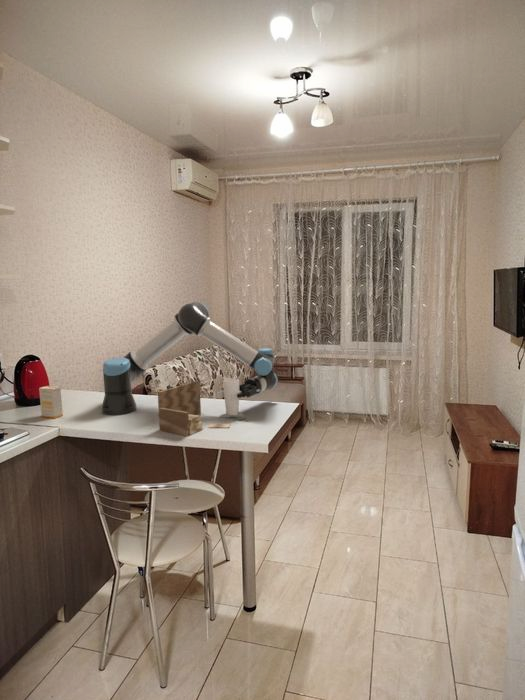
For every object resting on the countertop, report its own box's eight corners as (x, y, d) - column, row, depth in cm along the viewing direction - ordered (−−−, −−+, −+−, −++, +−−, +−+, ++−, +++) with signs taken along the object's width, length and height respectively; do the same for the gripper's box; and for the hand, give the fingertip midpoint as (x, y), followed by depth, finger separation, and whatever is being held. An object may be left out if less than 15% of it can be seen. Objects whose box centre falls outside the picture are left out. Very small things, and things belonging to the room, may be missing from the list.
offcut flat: (230, 429, 188) (230, 424, 188) (229, 432, 184) (229, 427, 184) (210, 428, 188) (210, 424, 188) (208, 432, 184) (208, 427, 184)
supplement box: (63, 415, 209) (61, 386, 208) (54, 418, 205) (52, 389, 203) (50, 413, 213) (47, 385, 211) (41, 416, 209) (38, 387, 207)
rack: (198, 417, 203) (197, 380, 201) (226, 422, 196) (225, 384, 193) (157, 433, 183) (155, 392, 180) (186, 439, 175) (185, 397, 173)
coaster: (218, 415, 207) (218, 413, 206) (243, 413, 208) (243, 412, 208) (219, 422, 196) (219, 420, 196) (246, 420, 197) (246, 419, 197)
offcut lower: (190, 427, 186) (190, 419, 185) (202, 429, 182) (202, 422, 182) (178, 432, 180) (177, 424, 179) (190, 434, 176) (190, 426, 176)
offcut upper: (188, 420, 184) (188, 414, 184) (199, 421, 182) (199, 415, 182) (180, 424, 179) (179, 418, 179) (191, 426, 177) (191, 419, 177)
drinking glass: (224, 412, 205) (223, 378, 203) (240, 411, 205) (238, 377, 203) (224, 417, 198) (223, 381, 196) (240, 416, 199) (239, 381, 196)
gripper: (273, 396, 211) (244, 408, 192) (237, 391, 221) (206, 402, 202) (273, 379, 210) (243, 390, 190) (236, 375, 220) (205, 385, 201)
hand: (224, 396), depth 196 cm, fingers open, 7 cm apart
